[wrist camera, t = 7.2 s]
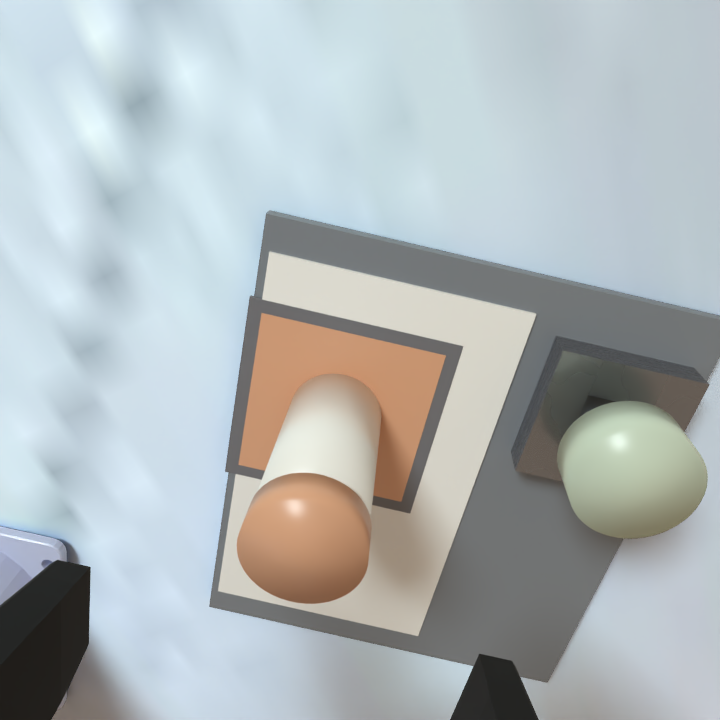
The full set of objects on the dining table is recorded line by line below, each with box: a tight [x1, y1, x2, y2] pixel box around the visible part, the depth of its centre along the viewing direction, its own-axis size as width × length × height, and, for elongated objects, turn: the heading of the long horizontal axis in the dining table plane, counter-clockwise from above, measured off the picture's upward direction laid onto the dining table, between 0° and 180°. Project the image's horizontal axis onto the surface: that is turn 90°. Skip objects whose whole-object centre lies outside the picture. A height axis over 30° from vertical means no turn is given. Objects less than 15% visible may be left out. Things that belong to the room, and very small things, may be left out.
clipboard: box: [209, 210, 720, 682], centre depth 20 cm, size 15×13×1 cm
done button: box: [557, 401, 707, 539], centre depth 16 cm, size 3×3×3 cm
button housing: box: [511, 336, 709, 482], centre depth 18 cm, size 4×4×1 cm
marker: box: [237, 374, 382, 604], centre depth 16 cm, size 3×3×6 cm
